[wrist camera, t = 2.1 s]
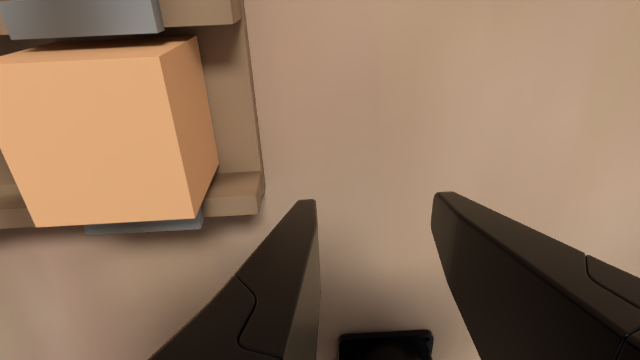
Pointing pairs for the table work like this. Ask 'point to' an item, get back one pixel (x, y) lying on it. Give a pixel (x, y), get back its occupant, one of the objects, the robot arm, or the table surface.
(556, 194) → the table surface
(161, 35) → the chute
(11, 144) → the block
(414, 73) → the table surface
